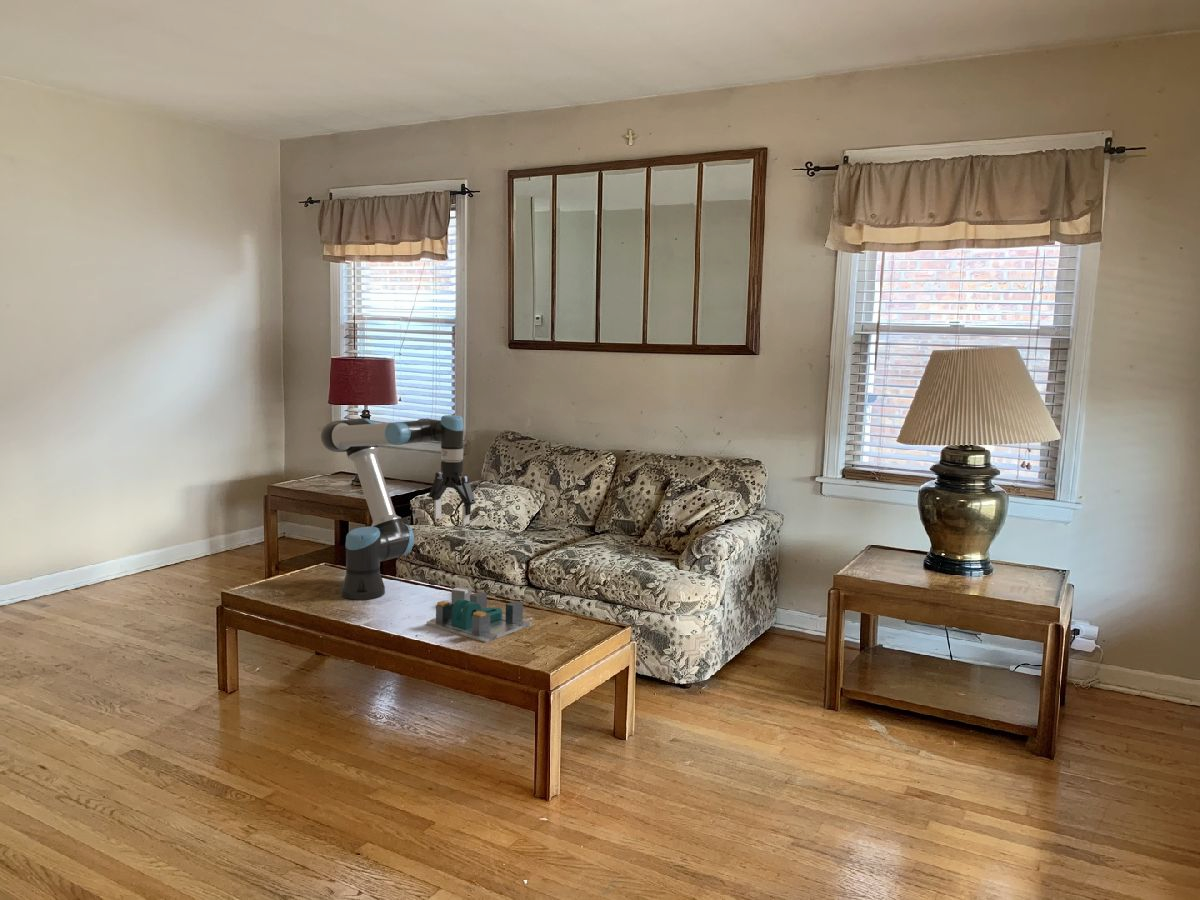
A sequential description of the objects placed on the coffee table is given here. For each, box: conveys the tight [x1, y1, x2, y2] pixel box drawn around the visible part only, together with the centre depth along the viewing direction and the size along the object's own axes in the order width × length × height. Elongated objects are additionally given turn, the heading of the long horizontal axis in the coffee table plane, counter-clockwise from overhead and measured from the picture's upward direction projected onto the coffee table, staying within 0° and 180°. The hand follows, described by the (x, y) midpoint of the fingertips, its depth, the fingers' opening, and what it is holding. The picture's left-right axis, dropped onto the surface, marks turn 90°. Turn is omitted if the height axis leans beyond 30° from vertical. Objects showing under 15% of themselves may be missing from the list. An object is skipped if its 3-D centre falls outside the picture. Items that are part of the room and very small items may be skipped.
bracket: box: [451, 599, 503, 630], centre depth 296 cm, size 18×7×8 cm, turn 141°
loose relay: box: [451, 586, 473, 604], centre depth 316 cm, size 5×5×6 cm
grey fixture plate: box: [426, 591, 533, 643], centre depth 296 cm, size 26×22×8 cm
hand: (451, 521), depth 317 cm, fingers open, 13 cm apart
